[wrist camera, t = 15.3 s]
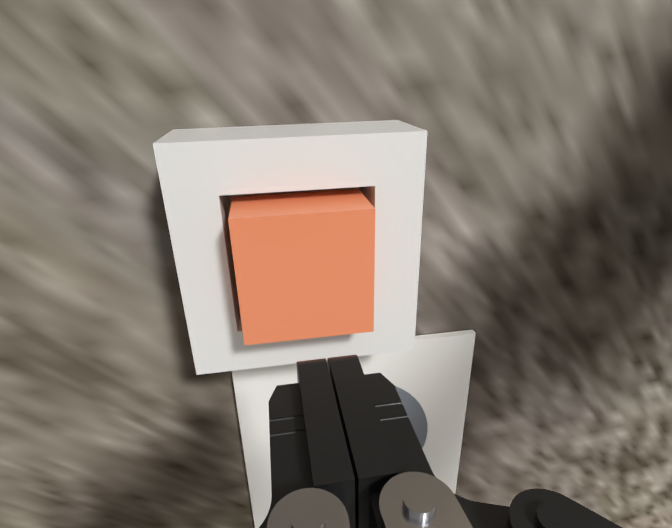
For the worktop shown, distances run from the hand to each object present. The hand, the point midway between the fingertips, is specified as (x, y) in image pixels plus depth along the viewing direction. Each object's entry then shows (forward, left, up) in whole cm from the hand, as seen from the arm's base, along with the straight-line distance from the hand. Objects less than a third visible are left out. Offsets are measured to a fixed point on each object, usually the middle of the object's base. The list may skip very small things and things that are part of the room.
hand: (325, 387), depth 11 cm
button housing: (0, 0, -12) cm, 12 cm away
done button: (0, 0, -9) cm, 9 cm away
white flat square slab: (-3, +14, -12) cm, 19 cm away
